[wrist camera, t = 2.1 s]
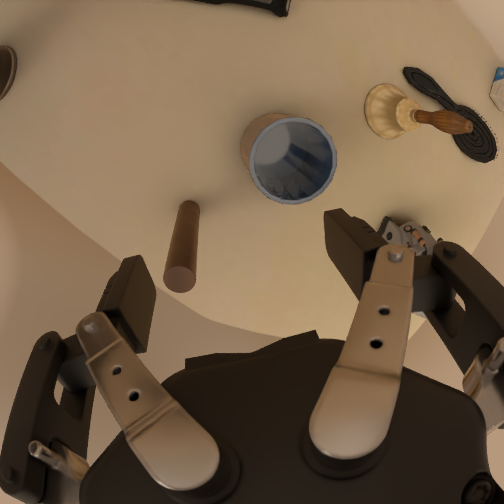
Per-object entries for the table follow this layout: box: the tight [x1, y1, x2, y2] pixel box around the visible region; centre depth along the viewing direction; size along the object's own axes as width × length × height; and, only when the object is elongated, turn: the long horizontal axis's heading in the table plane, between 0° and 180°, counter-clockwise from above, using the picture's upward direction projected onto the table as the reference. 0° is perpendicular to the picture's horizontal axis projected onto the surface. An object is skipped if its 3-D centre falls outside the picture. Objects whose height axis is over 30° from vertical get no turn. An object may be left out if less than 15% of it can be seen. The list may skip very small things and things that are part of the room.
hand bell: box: [365, 84, 473, 139], centre depth 27 cm, size 8×8×16 cm
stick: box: [163, 201, 200, 293], centre depth 30 cm, size 3×3×16 cm
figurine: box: [378, 216, 443, 319], centre depth 38 cm, size 9×12×15 cm
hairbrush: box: [403, 67, 499, 163], centre depth 33 cm, size 8×4×25 cm
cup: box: [240, 113, 337, 205], centre depth 31 cm, size 9×9×9 cm
